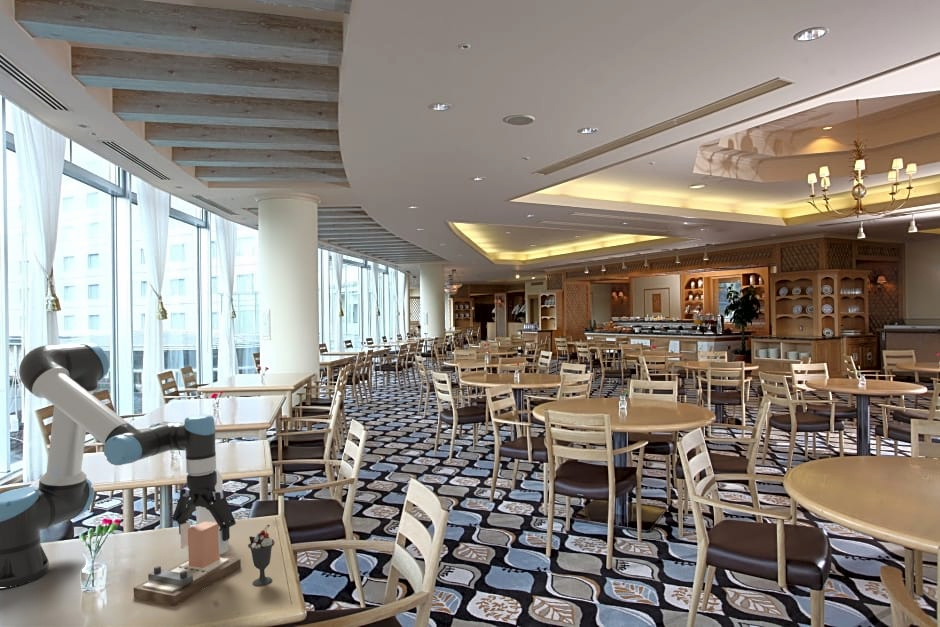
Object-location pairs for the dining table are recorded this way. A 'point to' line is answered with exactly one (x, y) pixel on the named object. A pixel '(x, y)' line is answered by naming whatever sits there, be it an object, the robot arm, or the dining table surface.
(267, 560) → the sundae
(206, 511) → the bottle
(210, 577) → the board
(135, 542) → the dining table surface
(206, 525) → the stub
